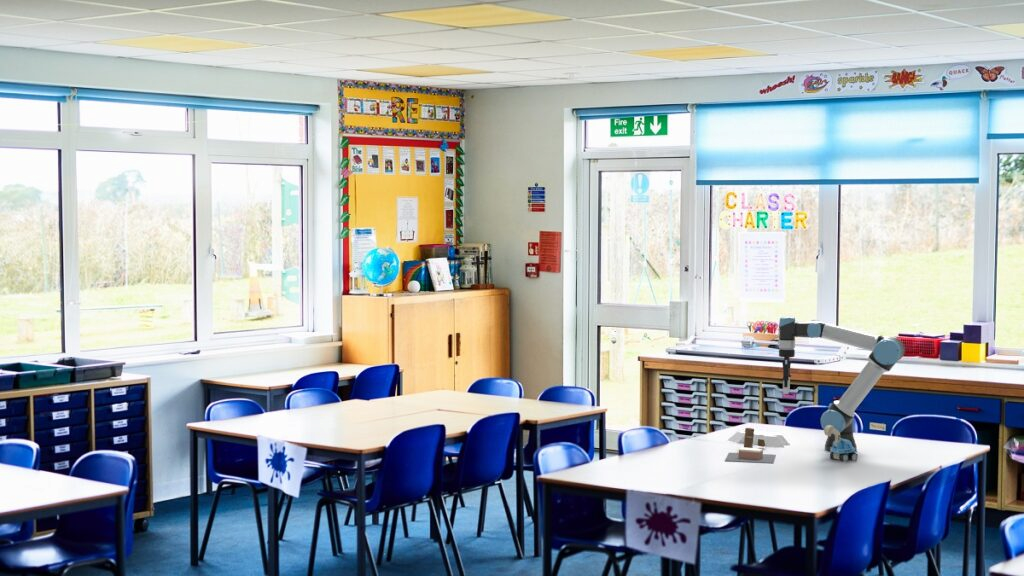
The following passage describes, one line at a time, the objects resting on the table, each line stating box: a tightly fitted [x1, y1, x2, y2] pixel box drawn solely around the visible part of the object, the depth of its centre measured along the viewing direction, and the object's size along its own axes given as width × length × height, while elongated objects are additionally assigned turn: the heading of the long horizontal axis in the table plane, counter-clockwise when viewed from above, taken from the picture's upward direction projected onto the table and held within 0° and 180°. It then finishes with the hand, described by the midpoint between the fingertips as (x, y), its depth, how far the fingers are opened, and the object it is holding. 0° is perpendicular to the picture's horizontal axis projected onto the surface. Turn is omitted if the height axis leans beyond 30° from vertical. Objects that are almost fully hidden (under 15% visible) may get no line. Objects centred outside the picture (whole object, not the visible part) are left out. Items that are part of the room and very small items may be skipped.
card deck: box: [738, 446, 764, 459], centre depth 575 cm, size 6×10×4 cm, turn 64°
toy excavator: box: [823, 425, 858, 462], centre depth 571 cm, size 9×17×17 cm, turn 117°
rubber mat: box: [724, 452, 776, 465], centre depth 575 cm, size 22×22×1 cm
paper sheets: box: [727, 430, 791, 448], centre depth 622 cm, size 35×20×6 cm, turn 48°
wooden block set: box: [743, 427, 766, 448], centre depth 599 cm, size 18×9×10 cm, turn 151°
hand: (786, 392), depth 597 cm, fingers open, 13 cm apart
